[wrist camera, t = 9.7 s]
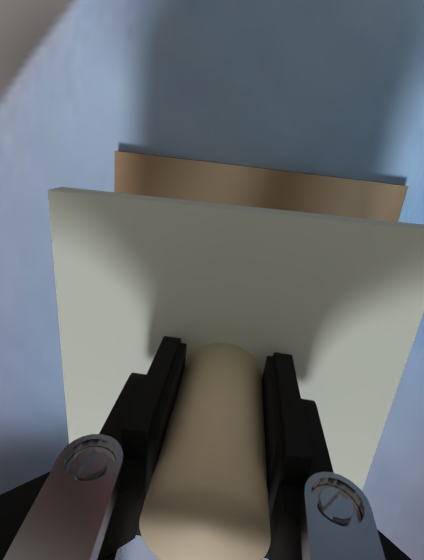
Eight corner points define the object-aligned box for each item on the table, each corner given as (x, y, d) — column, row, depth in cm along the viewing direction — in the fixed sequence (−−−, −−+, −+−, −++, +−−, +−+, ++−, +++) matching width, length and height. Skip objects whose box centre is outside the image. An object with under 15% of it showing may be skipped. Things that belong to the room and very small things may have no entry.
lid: (436, 226, 10) (659, 322, 4) (347, 496, 14) (408, 719, 9) (61, 187, 11) (-134, 230, 5) (80, 455, 15) (-19, 637, 9)
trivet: (404, 185, 15) (408, 186, 15) (335, 417, 20) (336, 422, 20) (117, 150, 16) (114, 151, 16) (115, 380, 21) (113, 385, 20)
